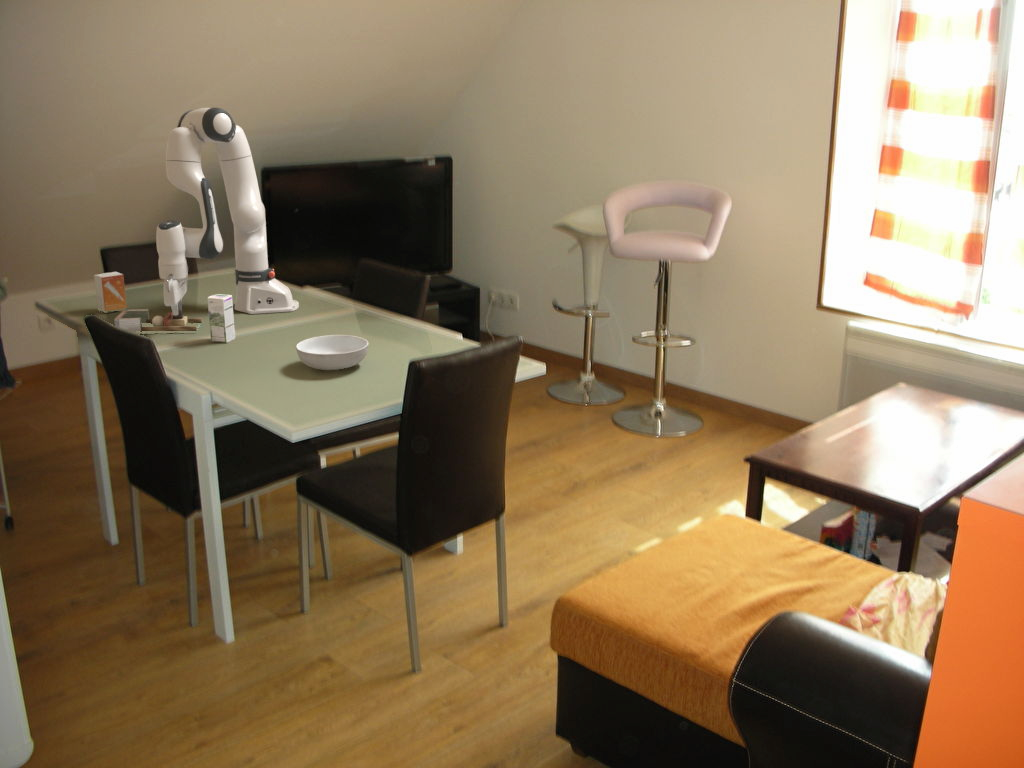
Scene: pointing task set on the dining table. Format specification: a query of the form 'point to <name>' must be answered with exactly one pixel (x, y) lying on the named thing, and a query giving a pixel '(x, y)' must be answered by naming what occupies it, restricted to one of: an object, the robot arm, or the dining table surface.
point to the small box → (110, 291)
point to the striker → (176, 318)
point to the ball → (158, 321)
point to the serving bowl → (332, 351)
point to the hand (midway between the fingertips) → (177, 313)
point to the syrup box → (221, 318)
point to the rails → (174, 328)
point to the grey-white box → (132, 319)
